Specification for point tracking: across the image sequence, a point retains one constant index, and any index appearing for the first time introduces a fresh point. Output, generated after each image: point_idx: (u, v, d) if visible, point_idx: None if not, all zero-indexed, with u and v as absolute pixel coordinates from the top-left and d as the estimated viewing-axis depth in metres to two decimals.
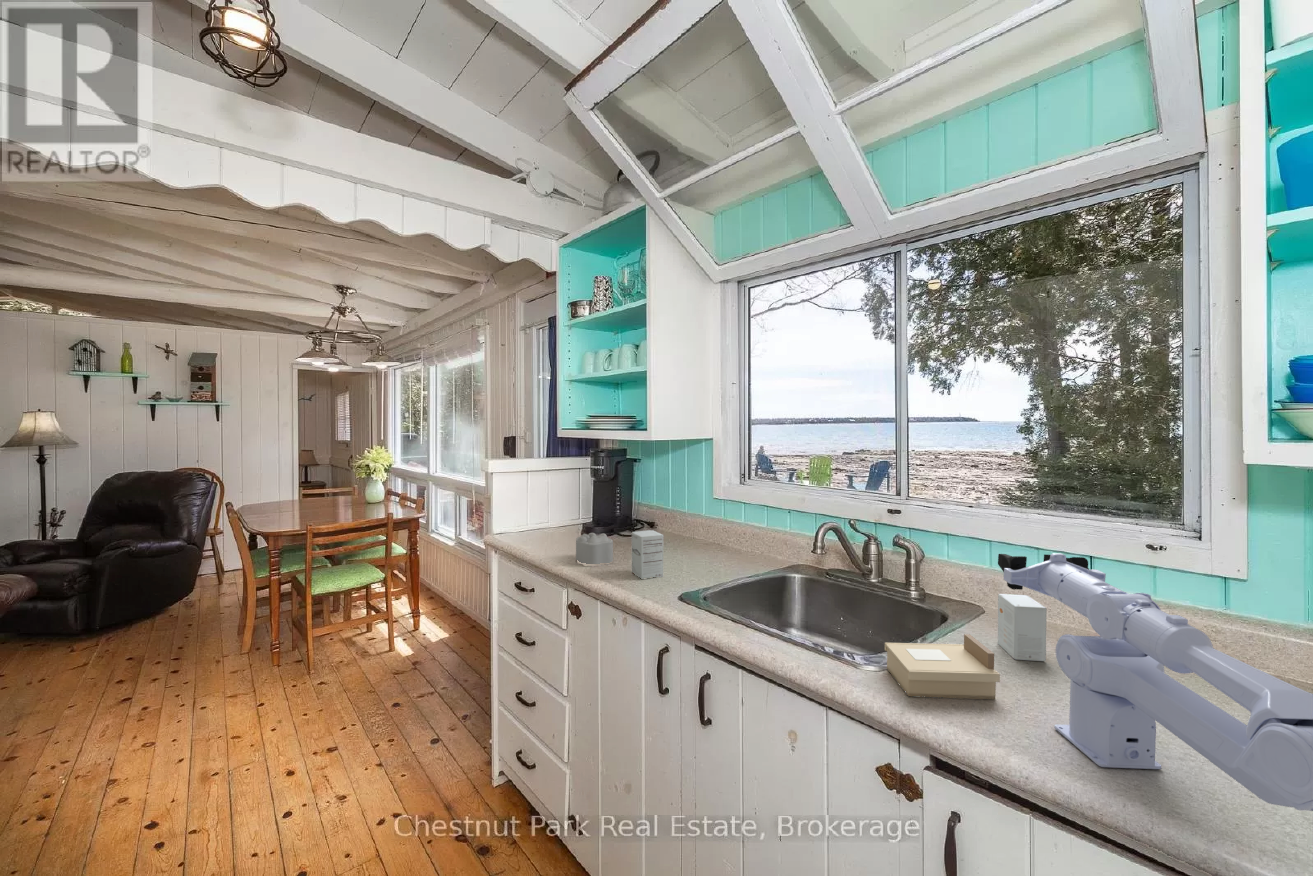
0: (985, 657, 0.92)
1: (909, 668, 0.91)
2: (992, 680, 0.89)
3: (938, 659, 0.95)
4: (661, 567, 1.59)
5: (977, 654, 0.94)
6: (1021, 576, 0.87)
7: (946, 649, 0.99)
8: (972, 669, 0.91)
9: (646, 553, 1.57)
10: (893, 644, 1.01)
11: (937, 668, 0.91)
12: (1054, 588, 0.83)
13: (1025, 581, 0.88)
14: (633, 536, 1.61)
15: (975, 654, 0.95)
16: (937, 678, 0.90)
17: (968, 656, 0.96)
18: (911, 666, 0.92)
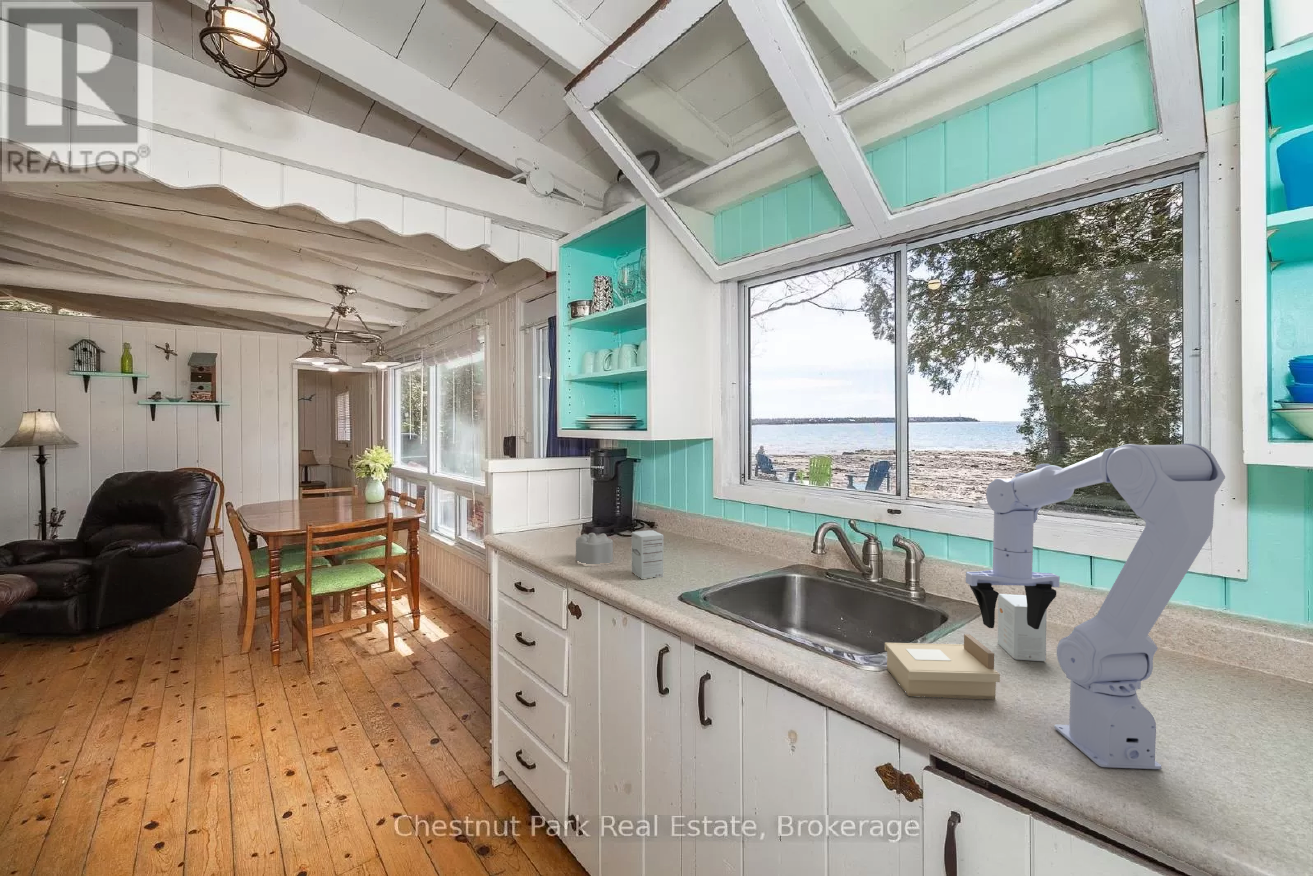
0: (985, 657, 0.92)
1: (909, 668, 0.91)
2: (992, 680, 0.89)
3: (938, 659, 0.95)
4: (661, 567, 1.59)
5: (977, 654, 0.94)
6: (978, 574, 0.95)
7: (946, 649, 0.99)
8: (972, 669, 0.91)
9: (646, 553, 1.57)
10: (893, 644, 1.01)
11: (937, 668, 0.91)
12: (995, 552, 0.94)
13: (985, 576, 0.94)
14: (633, 536, 1.61)
15: (975, 654, 0.95)
16: (937, 678, 0.90)
17: (968, 656, 0.96)
18: (911, 666, 0.92)
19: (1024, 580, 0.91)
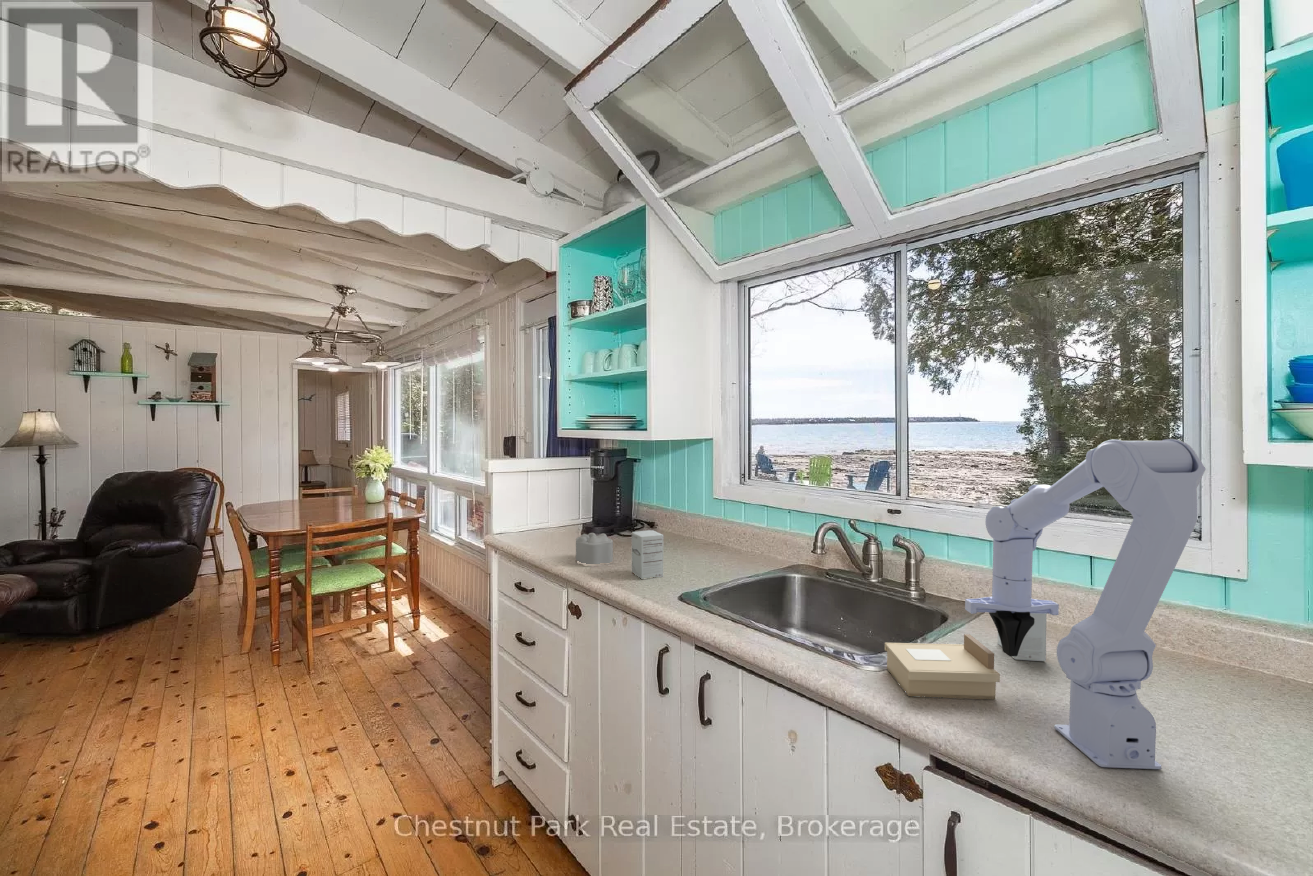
0: (985, 657, 0.92)
1: (909, 668, 0.91)
2: (992, 680, 0.89)
3: (938, 659, 0.95)
4: (661, 567, 1.59)
5: (977, 654, 0.94)
6: None
7: (946, 649, 0.99)
8: (972, 669, 0.91)
9: (646, 553, 1.57)
10: (893, 644, 1.01)
11: (937, 668, 0.91)
12: (994, 579, 0.94)
13: None
14: (633, 536, 1.61)
15: (975, 654, 0.95)
16: (937, 678, 0.90)
17: (968, 656, 0.96)
18: (911, 666, 0.92)
19: (1023, 608, 0.91)
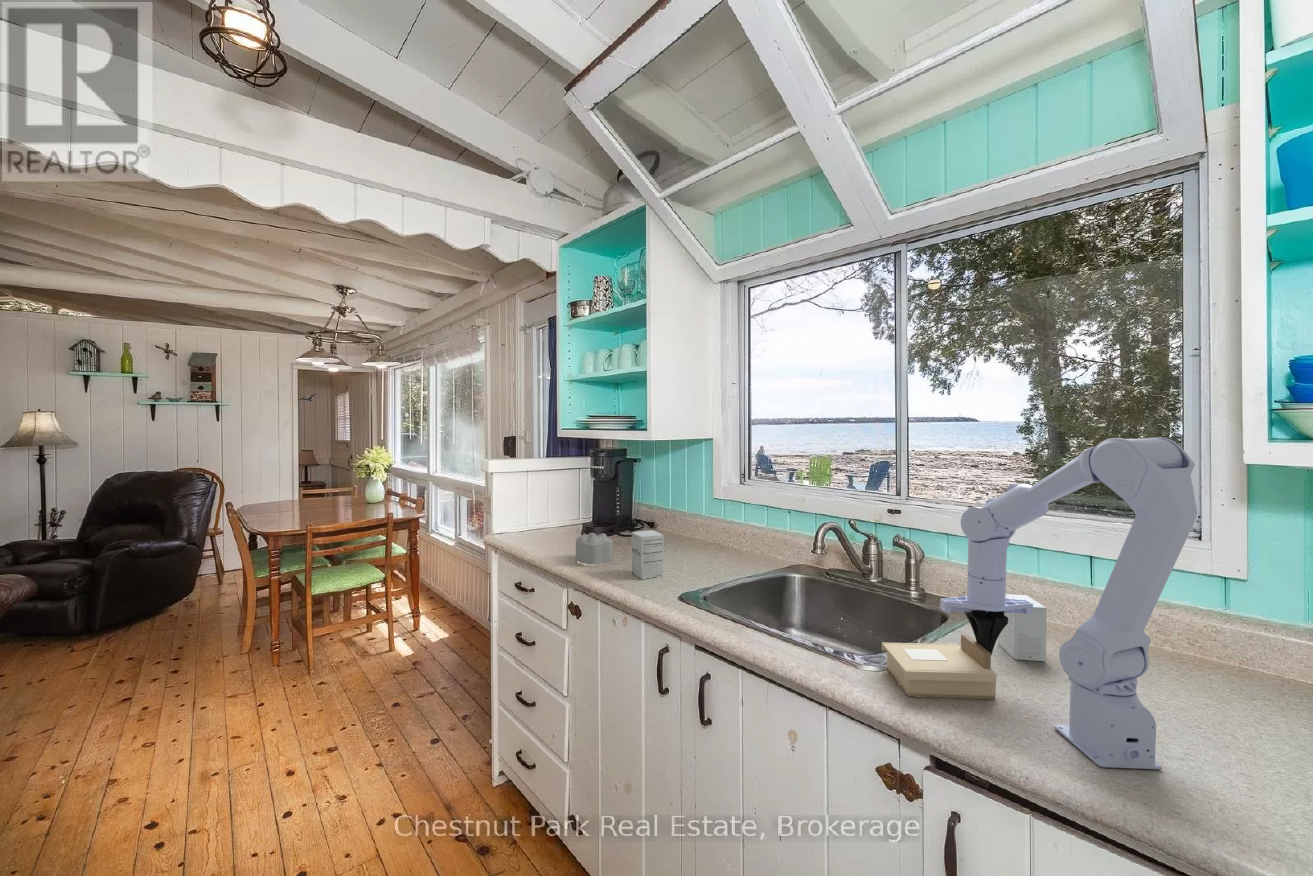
0: (981, 657, 0.92)
1: (906, 668, 0.91)
2: (989, 680, 0.89)
3: (935, 659, 0.95)
4: (661, 567, 1.59)
5: (974, 654, 0.94)
6: None
7: (942, 649, 0.99)
8: (969, 669, 0.91)
9: (646, 553, 1.57)
10: (890, 644, 1.01)
11: (934, 668, 0.91)
12: (969, 579, 0.95)
13: (959, 603, 0.94)
14: (633, 536, 1.61)
15: (971, 653, 0.95)
16: (934, 678, 0.90)
17: (965, 656, 0.96)
18: (908, 666, 0.92)
19: (997, 608, 0.92)
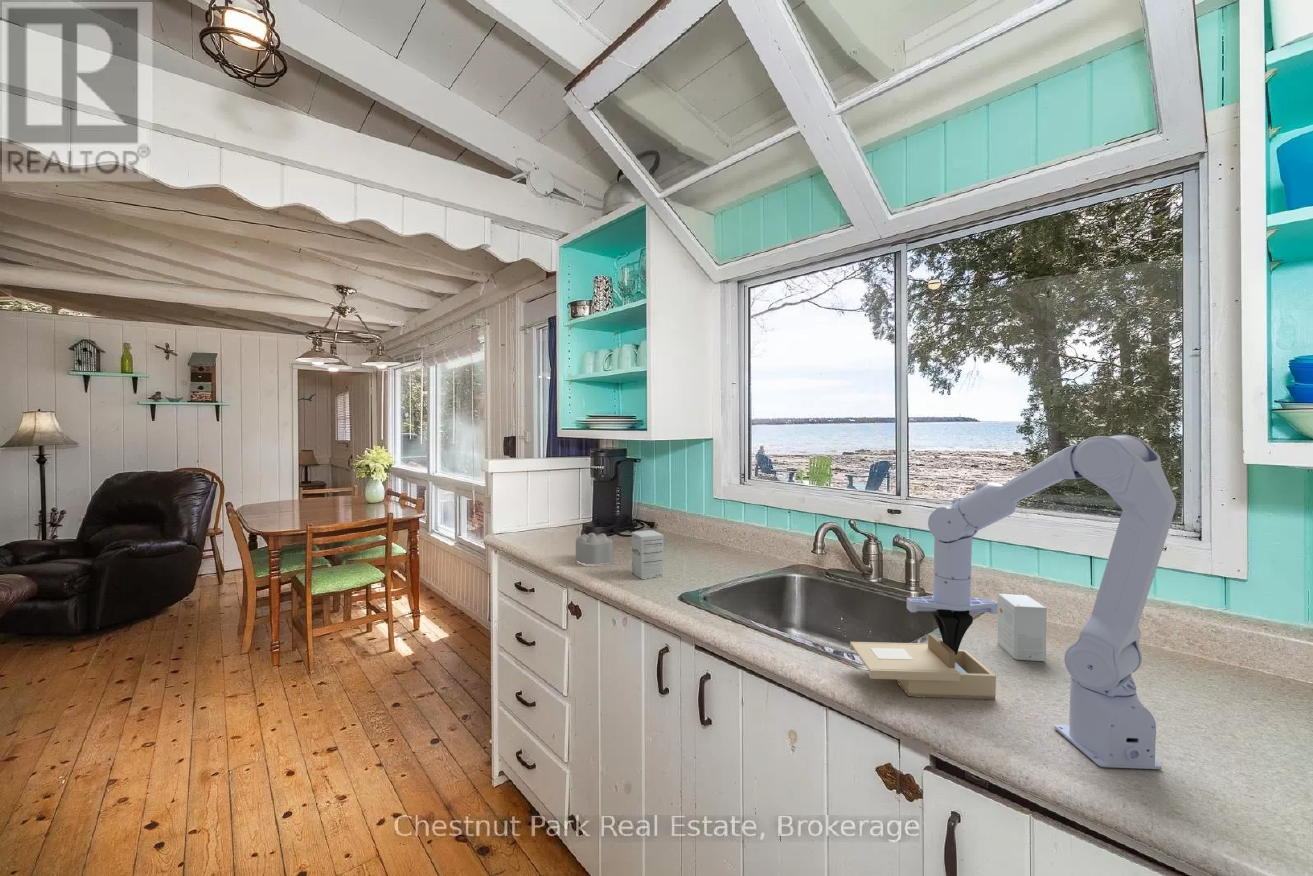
0: (946, 656, 0.92)
1: (870, 667, 0.92)
2: (952, 679, 0.90)
3: (901, 658, 0.95)
4: (661, 567, 1.59)
5: (939, 653, 0.95)
6: (919, 600, 0.96)
7: (910, 648, 0.99)
8: (933, 668, 0.91)
9: (646, 553, 1.57)
10: (858, 643, 1.01)
11: (899, 667, 0.92)
12: (935, 578, 0.95)
13: None
14: (633, 536, 1.61)
15: (937, 653, 0.96)
16: (898, 677, 0.90)
17: (931, 655, 0.96)
18: (873, 665, 0.92)
19: (961, 607, 0.92)
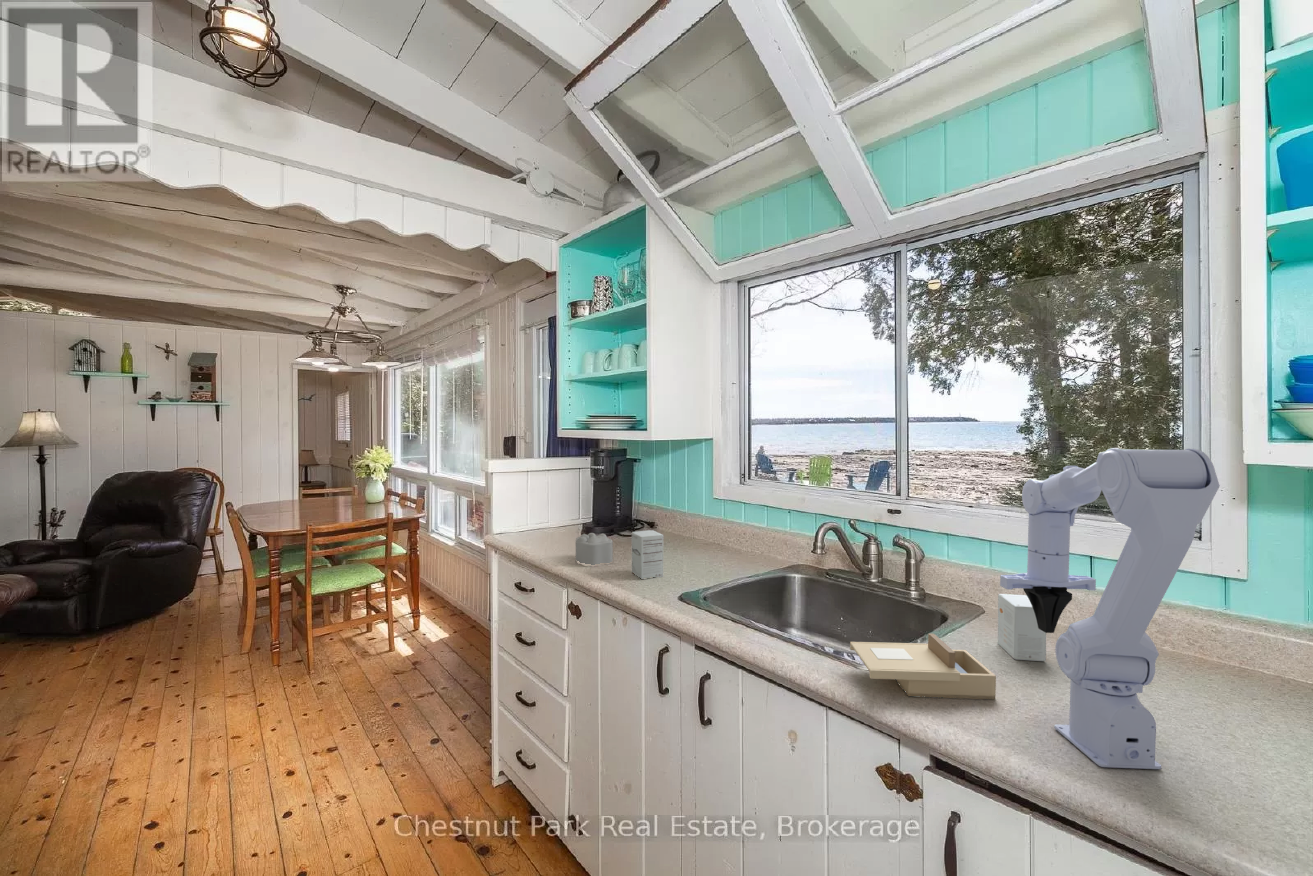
0: (946, 656, 0.92)
1: (870, 667, 0.92)
2: (952, 679, 0.90)
3: (901, 658, 0.95)
4: (661, 567, 1.59)
5: (939, 653, 0.95)
6: None
7: (910, 648, 0.99)
8: (933, 668, 0.91)
9: (646, 553, 1.57)
10: (858, 643, 1.01)
11: (899, 667, 0.92)
12: (1031, 555, 0.92)
13: None
14: (633, 536, 1.61)
15: (937, 653, 0.96)
16: (898, 677, 0.90)
17: (931, 655, 0.96)
18: (873, 665, 0.92)
19: (1061, 583, 0.89)
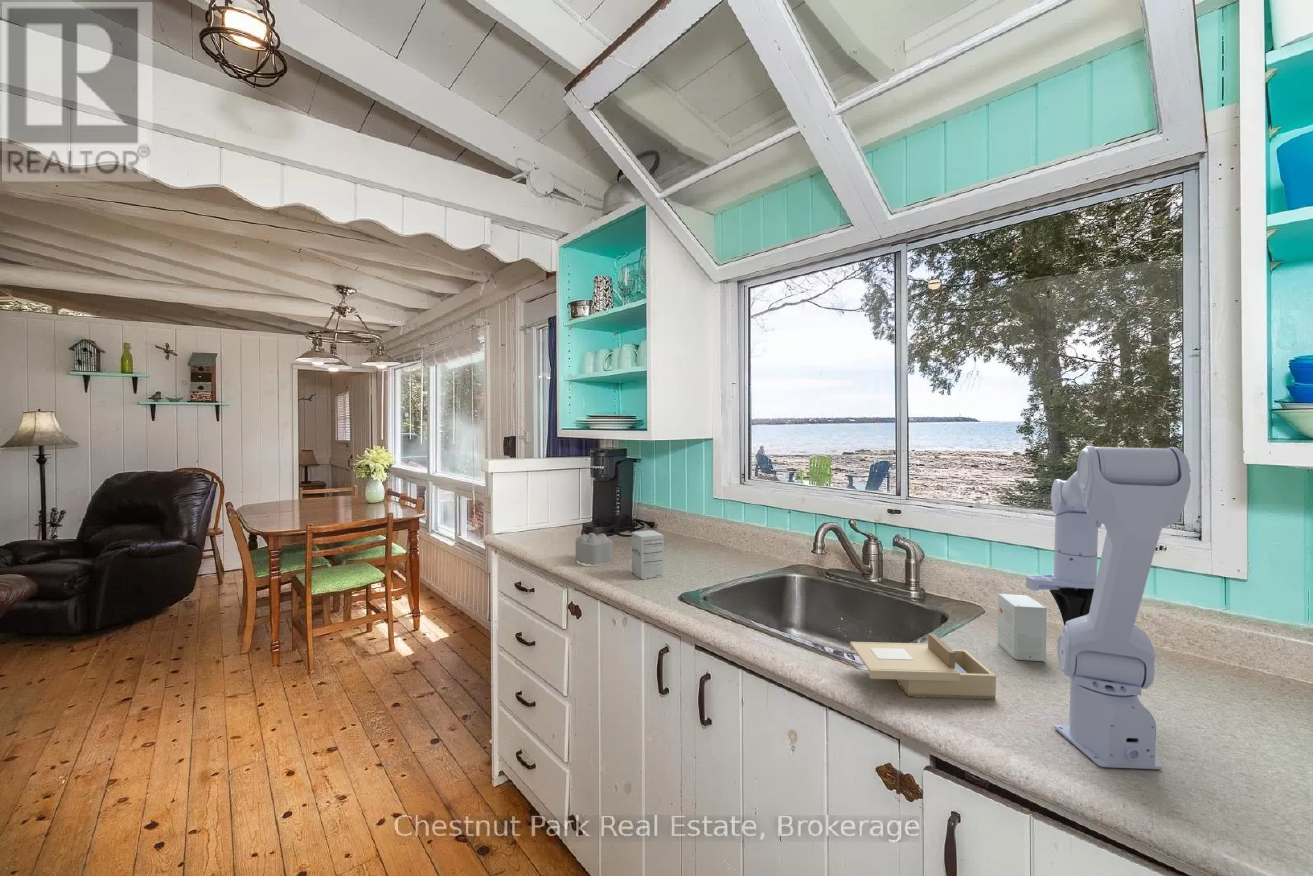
0: (946, 656, 0.92)
1: (870, 667, 0.92)
2: (952, 679, 0.90)
3: (901, 658, 0.95)
4: (661, 567, 1.59)
5: (939, 653, 0.95)
6: None
7: (910, 648, 0.99)
8: (933, 668, 0.91)
9: (646, 553, 1.57)
10: (858, 643, 1.01)
11: (899, 667, 0.92)
12: (1057, 556, 0.92)
13: None
14: (633, 536, 1.61)
15: (937, 653, 0.96)
16: (898, 677, 0.90)
17: (931, 655, 0.96)
18: (873, 665, 0.92)
19: (1089, 585, 0.89)
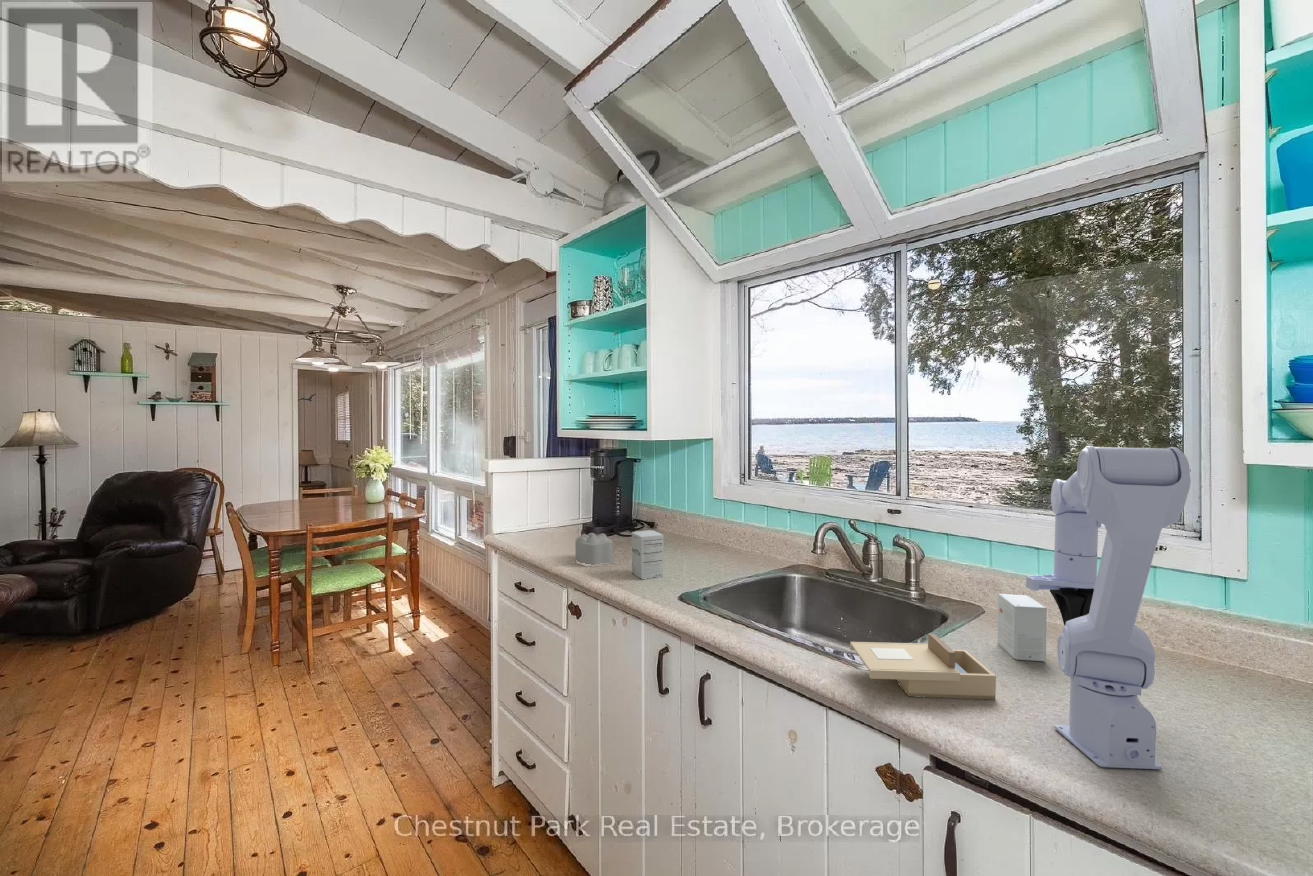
0: (946, 656, 0.92)
1: (870, 667, 0.92)
2: (952, 679, 0.90)
3: (901, 658, 0.95)
4: (661, 567, 1.59)
5: (939, 653, 0.95)
6: None
7: (910, 648, 0.99)
8: (933, 668, 0.91)
9: (646, 553, 1.57)
10: (858, 643, 1.01)
11: (899, 667, 0.92)
12: (1057, 556, 0.92)
13: None
14: (633, 536, 1.61)
15: (937, 653, 0.96)
16: (898, 677, 0.90)
17: (931, 655, 0.96)
18: (873, 665, 0.92)
19: (1089, 585, 0.89)
